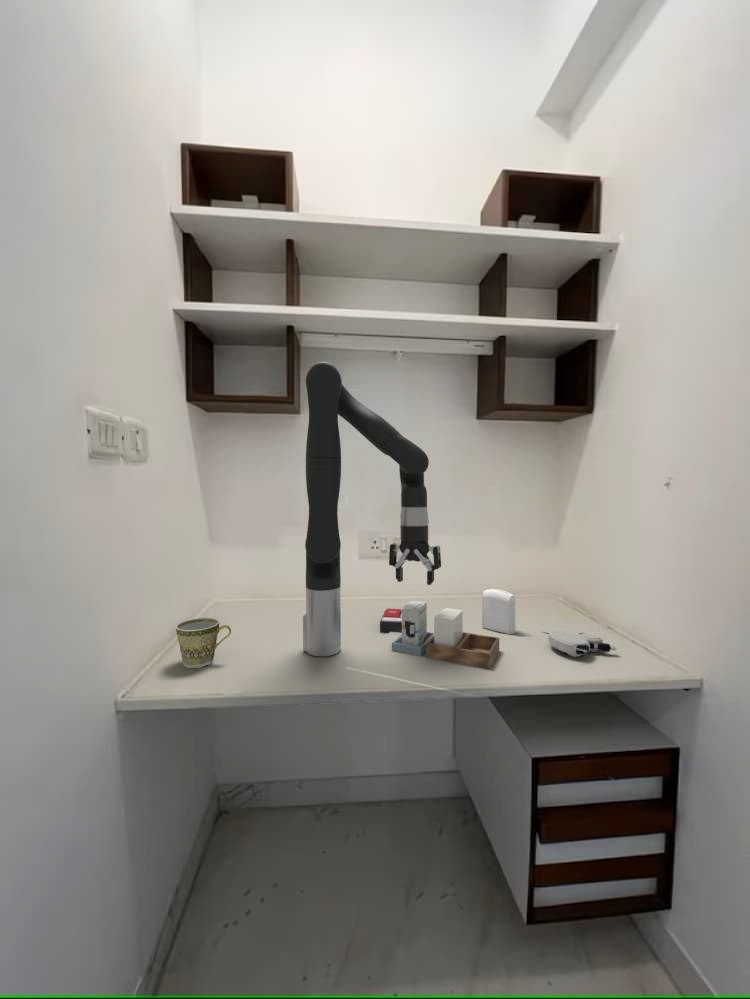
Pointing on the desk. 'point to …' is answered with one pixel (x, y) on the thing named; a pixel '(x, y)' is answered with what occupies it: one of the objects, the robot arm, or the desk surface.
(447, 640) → the white box
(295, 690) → the desk surface
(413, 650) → the tray
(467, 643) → the brown divided wooden organizer
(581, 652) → the robot toy
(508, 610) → the photo printer
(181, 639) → the ceramic cup
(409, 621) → the ink box
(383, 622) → the calculator
